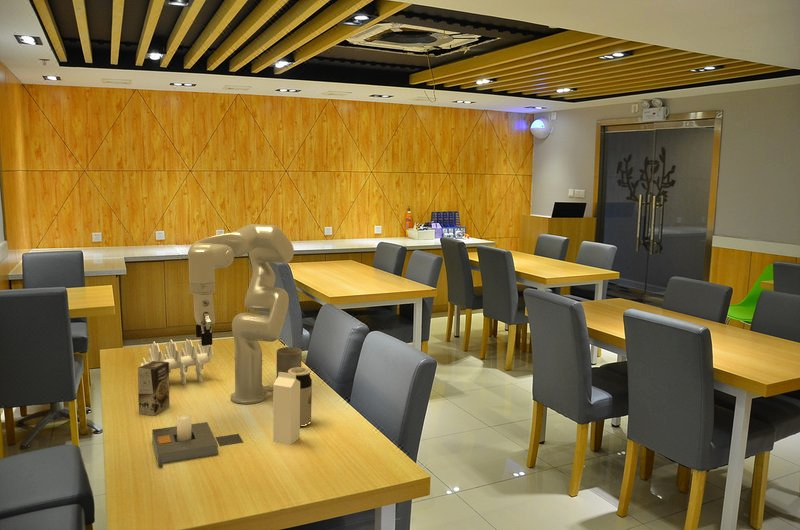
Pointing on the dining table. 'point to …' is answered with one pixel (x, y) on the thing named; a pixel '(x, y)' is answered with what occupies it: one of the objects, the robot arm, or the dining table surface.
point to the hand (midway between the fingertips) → (204, 340)
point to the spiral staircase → (182, 357)
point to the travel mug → (304, 392)
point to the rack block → (183, 444)
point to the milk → (286, 408)
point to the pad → (229, 440)
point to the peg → (184, 428)
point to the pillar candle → (288, 359)
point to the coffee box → (153, 387)
